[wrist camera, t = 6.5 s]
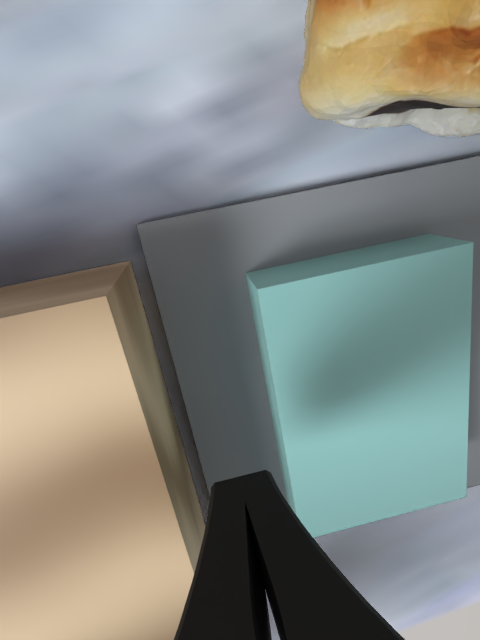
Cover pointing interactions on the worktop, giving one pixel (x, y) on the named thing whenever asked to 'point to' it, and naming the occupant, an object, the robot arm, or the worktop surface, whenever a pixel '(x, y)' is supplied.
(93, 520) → the tan wooden block
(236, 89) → the worktop surface
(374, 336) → the teal rectangular block
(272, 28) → the worktop surface
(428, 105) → the pastry
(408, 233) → the mat
